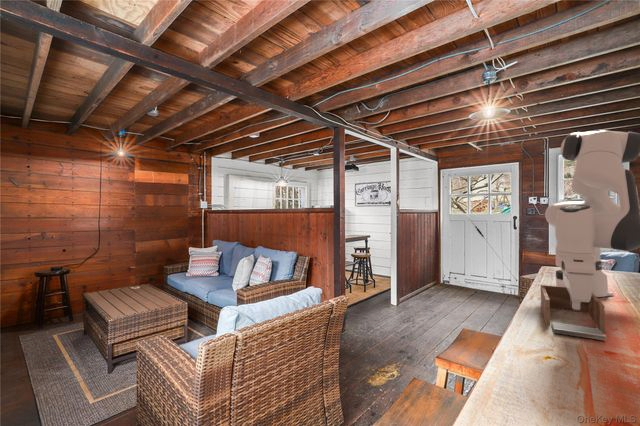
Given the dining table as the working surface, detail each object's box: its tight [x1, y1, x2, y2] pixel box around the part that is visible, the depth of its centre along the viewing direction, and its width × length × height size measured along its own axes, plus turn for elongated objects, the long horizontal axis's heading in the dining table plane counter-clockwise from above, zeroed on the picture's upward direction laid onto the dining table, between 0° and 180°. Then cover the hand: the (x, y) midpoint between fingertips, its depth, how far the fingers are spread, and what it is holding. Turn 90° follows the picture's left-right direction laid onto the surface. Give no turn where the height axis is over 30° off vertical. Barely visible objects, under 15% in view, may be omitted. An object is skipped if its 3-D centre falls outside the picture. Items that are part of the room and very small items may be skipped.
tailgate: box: [550, 321, 607, 341], centre depth 90 cm, size 1×11×8 cm
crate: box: [540, 284, 606, 333], centre depth 102 cm, size 20×14×8 cm
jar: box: [555, 269, 565, 287], centre depth 117 cm, size 9×8×12 cm
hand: (575, 308), depth 88 cm, fingers closed
